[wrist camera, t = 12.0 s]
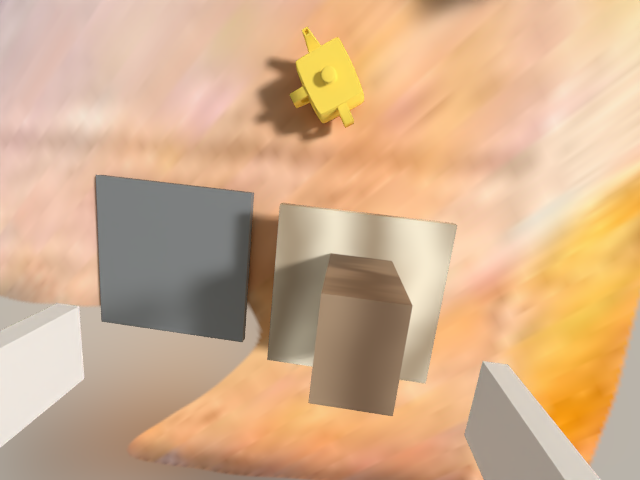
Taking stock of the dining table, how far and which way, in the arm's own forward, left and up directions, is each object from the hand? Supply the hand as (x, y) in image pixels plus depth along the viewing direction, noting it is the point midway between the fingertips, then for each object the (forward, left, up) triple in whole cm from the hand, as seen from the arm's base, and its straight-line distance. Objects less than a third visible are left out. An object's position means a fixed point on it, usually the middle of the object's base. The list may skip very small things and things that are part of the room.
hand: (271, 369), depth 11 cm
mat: (-15, -5, -23) cm, 28 cm away
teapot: (-1, +13, -23) cm, 27 cm away
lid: (+3, -4, -18) cm, 18 cm away
